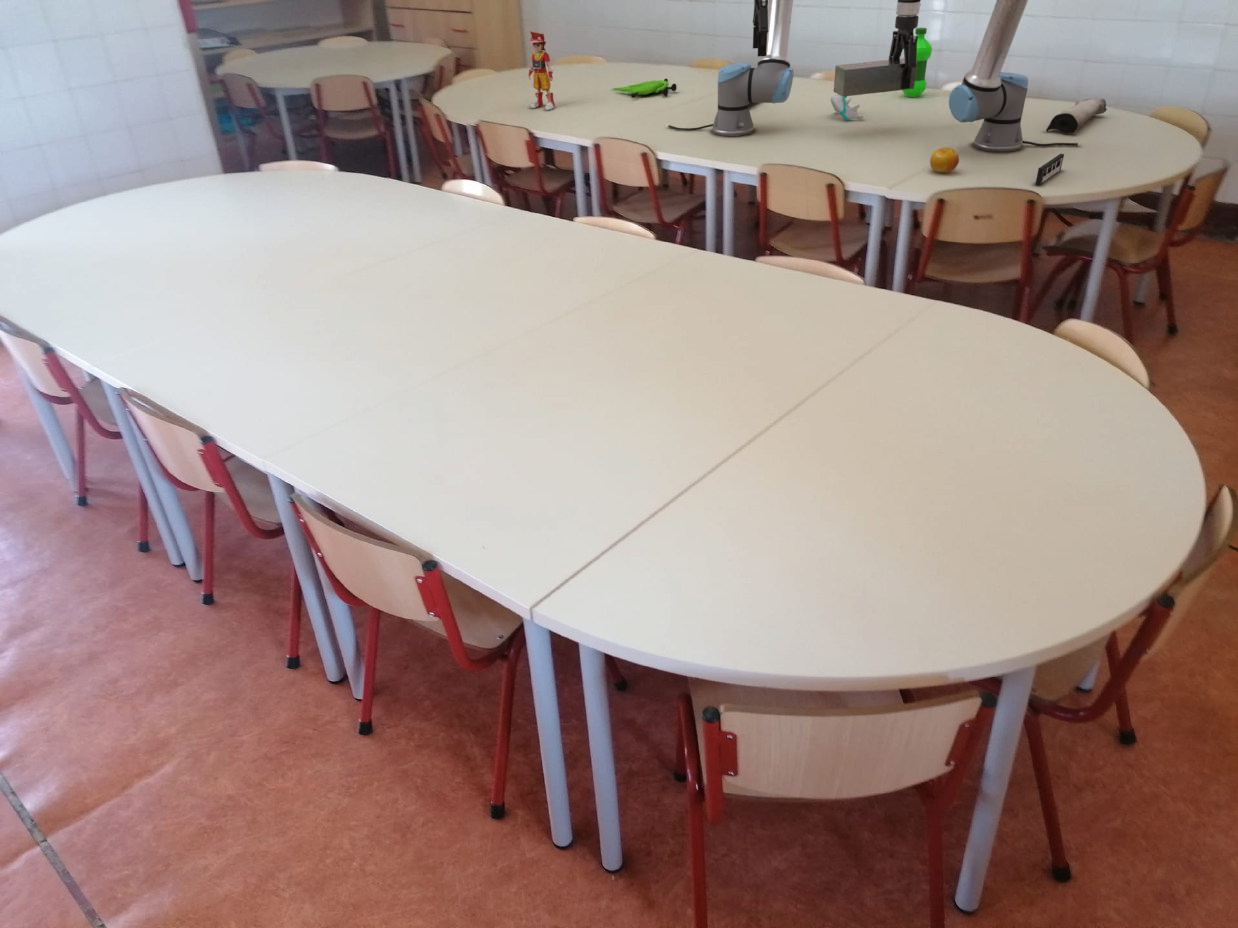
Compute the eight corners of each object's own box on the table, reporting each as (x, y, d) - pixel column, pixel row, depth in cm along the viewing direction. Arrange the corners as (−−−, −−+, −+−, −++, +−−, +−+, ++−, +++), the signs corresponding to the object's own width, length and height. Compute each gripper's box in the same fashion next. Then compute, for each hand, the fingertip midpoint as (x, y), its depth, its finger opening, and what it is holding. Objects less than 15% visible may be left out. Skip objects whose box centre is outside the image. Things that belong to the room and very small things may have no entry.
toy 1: (525, 109, 381) (517, 32, 364) (534, 104, 388) (527, 28, 371) (550, 110, 377) (543, 32, 360) (559, 105, 384) (553, 28, 367)
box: (843, 96, 312) (845, 70, 307) (833, 92, 319) (835, 65, 314) (914, 89, 316) (917, 62, 311) (903, 84, 323) (906, 58, 318)
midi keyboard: (1039, 185, 269) (1043, 168, 266) (1035, 184, 270) (1038, 168, 267) (1060, 170, 279) (1064, 154, 277) (1056, 169, 280) (1060, 153, 277)
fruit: (924, 163, 281) (941, 140, 278) (925, 165, 289) (941, 143, 286) (946, 178, 280) (963, 155, 277) (947, 180, 288) (963, 158, 285)
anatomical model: (825, 90, 346) (851, 83, 346) (828, 117, 352) (853, 110, 352) (836, 99, 334) (863, 92, 333) (839, 127, 340) (865, 120, 339)
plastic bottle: (931, 95, 365) (940, 28, 351) (913, 100, 361) (922, 32, 346) (911, 91, 372) (920, 25, 358) (894, 96, 368) (902, 29, 353)
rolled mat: (1073, 103, 332) (1098, 85, 324) (1087, 124, 332) (1112, 107, 324) (1041, 125, 315) (1067, 107, 306) (1056, 147, 315) (1082, 129, 307)
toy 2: (686, 85, 398) (631, 84, 414) (685, 72, 395) (629, 72, 411) (651, 104, 381) (596, 103, 397) (650, 92, 378) (594, 91, 394)
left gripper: (779, -17, 271) (776, 59, 283) (768, -27, 291) (766, 44, 303) (754, -15, 271) (752, 60, 283) (745, -25, 292) (743, 45, 304)
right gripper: (933, 18, 298) (923, 90, 311) (903, 10, 315) (895, 79, 328) (912, 20, 297) (903, 93, 310) (883, 12, 314) (876, 81, 327)
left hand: (759, 52), depth 293 cm, fingers open, 13 cm apart
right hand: (899, 86), depth 319 cm, fingers closed on box, 8 cm apart
